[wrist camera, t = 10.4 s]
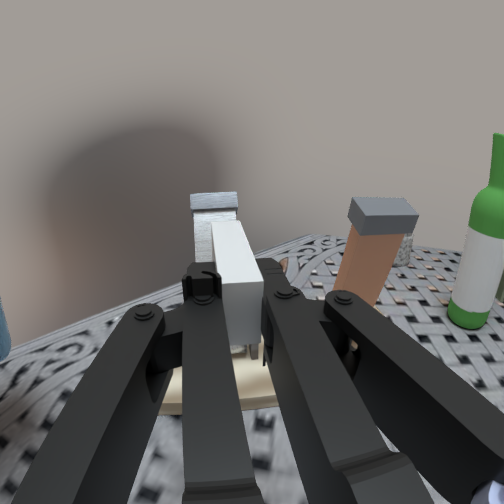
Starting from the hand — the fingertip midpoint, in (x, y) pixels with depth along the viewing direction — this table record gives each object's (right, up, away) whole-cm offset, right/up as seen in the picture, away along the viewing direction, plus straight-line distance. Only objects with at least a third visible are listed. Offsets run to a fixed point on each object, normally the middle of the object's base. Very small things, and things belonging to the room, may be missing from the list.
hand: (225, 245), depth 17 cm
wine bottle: (+37, -12, +26) cm, 46 cm away
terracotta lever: (+12, -10, +20) cm, 25 cm away
